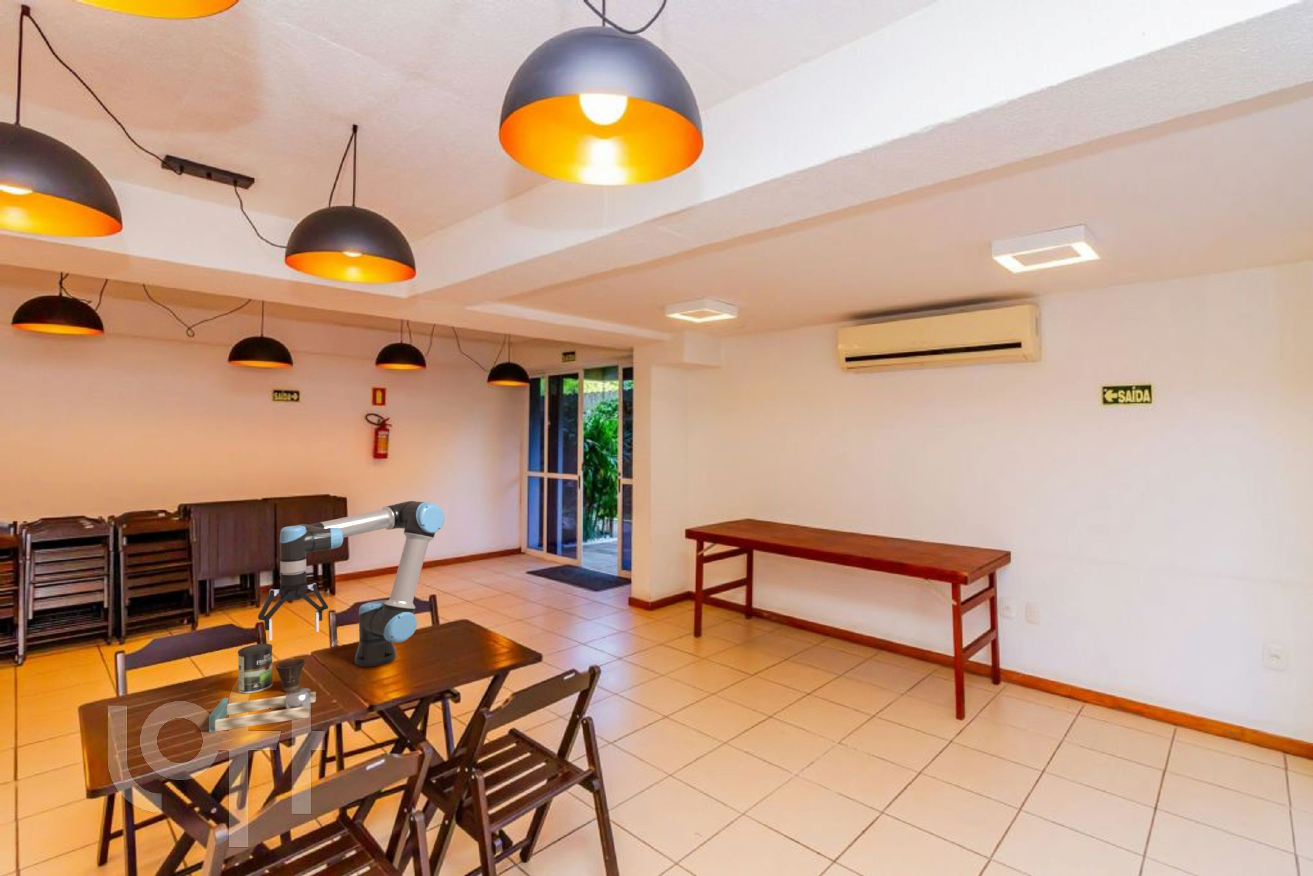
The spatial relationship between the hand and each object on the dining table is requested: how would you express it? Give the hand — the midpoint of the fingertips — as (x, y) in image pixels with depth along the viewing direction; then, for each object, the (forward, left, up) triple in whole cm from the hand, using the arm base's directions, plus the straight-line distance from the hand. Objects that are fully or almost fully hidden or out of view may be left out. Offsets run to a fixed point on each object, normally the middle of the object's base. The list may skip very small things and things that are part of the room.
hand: (294, 635), depth 202 cm
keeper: (-2, +8, -23) cm, 24 cm away
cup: (+4, -12, -23) cm, 26 cm away
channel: (+7, +8, -23) cm, 25 cm away
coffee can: (+16, -18, -23) cm, 33 cm away
